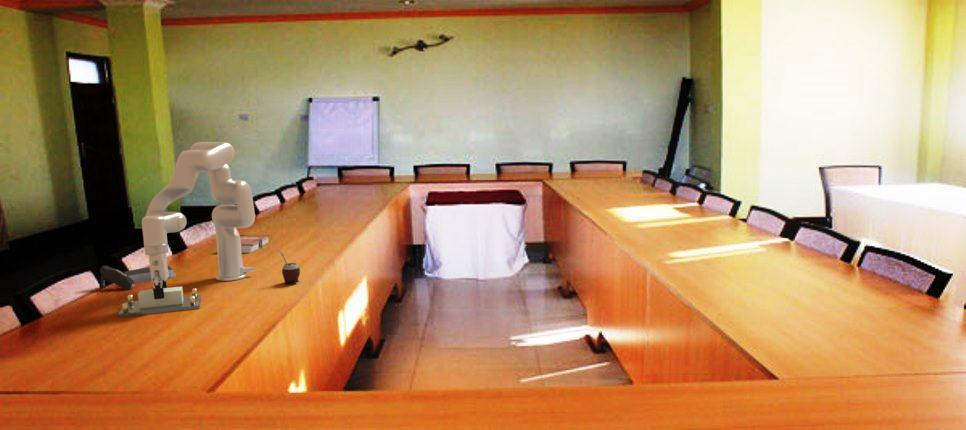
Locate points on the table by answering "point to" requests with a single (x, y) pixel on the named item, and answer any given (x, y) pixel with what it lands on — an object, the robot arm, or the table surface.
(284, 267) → the mate gourd
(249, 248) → the book
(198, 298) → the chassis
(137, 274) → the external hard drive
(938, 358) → the table surface
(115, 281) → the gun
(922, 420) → the table surface
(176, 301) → the pale grey rectangular block
